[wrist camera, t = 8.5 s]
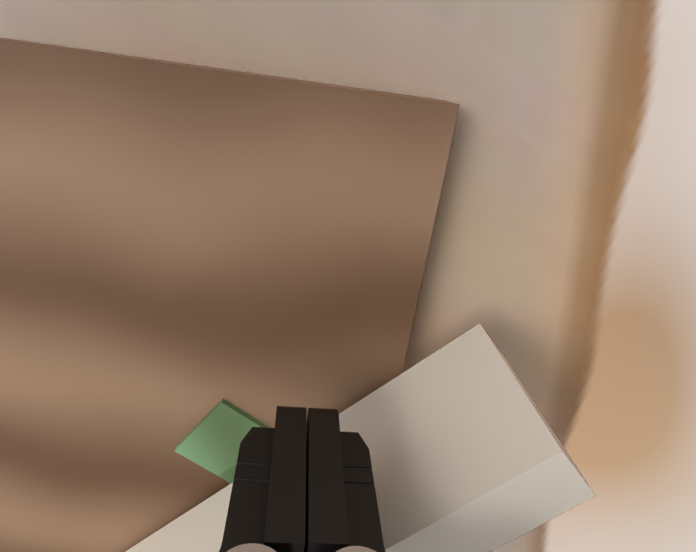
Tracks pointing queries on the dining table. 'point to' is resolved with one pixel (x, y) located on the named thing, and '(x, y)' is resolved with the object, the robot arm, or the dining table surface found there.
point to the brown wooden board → (190, 275)
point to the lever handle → (439, 459)
